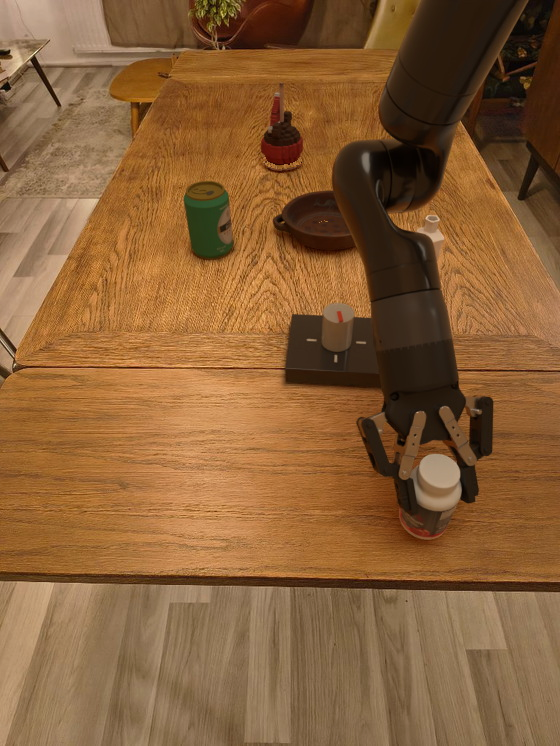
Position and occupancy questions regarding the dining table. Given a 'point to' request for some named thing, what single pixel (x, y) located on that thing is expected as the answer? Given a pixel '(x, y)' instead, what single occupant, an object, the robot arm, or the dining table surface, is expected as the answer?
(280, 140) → the cake
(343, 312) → the stove knob
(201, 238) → the beverage can
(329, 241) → the dish
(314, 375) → the black dial box
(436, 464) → the pill bottle
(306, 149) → the dining table surface
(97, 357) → the dining table surface
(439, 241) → the perfume bottle
